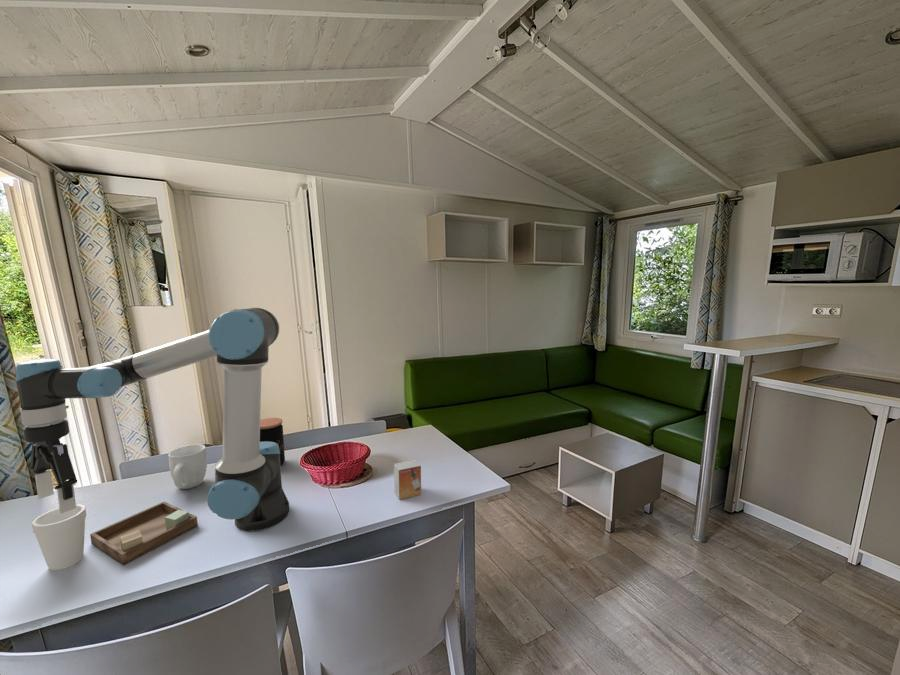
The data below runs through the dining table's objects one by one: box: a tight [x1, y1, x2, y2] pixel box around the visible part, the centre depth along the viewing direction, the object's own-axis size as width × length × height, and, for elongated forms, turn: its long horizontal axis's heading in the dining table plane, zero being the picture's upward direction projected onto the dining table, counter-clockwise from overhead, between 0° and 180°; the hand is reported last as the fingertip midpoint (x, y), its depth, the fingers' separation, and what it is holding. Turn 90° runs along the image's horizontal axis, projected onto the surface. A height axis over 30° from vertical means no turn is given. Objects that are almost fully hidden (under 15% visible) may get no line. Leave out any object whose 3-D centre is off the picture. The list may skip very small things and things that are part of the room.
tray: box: [89, 501, 199, 566], centre depth 107 cm, size 18×18×3 cm
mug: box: [167, 443, 208, 490], centre depth 132 cm, size 15×11×13 cm
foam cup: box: [31, 503, 87, 572], centre depth 96 cm, size 10×9×13 cm
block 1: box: [120, 530, 143, 552], centre depth 99 cm, size 4×4×4 cm
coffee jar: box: [260, 417, 286, 467], centre depth 148 cm, size 11×11×18 cm
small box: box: [393, 459, 422, 500], centre depth 127 cm, size 8×6×10 cm
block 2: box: [165, 509, 190, 530], centre depth 109 cm, size 4×4×4 cm
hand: (56, 503), depth 95 cm, fingers open, 13 cm apart
